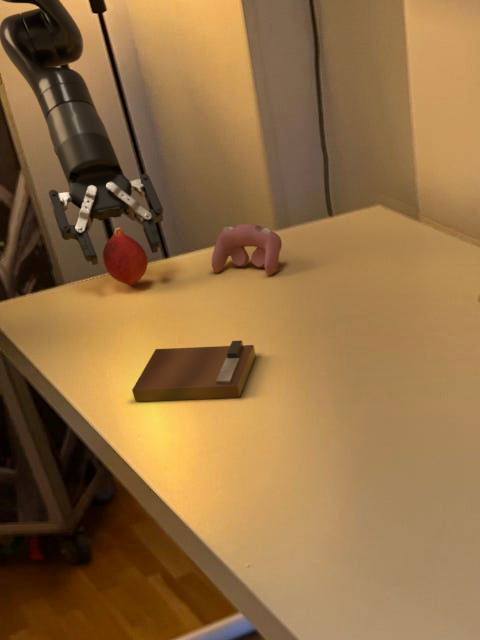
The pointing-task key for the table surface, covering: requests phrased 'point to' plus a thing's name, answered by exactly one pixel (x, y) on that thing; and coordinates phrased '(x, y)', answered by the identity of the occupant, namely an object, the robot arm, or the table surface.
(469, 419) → the table surface
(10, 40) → the robot arm
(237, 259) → the video game controller
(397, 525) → the table surface
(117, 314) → the table surface
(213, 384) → the cutting board
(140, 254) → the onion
